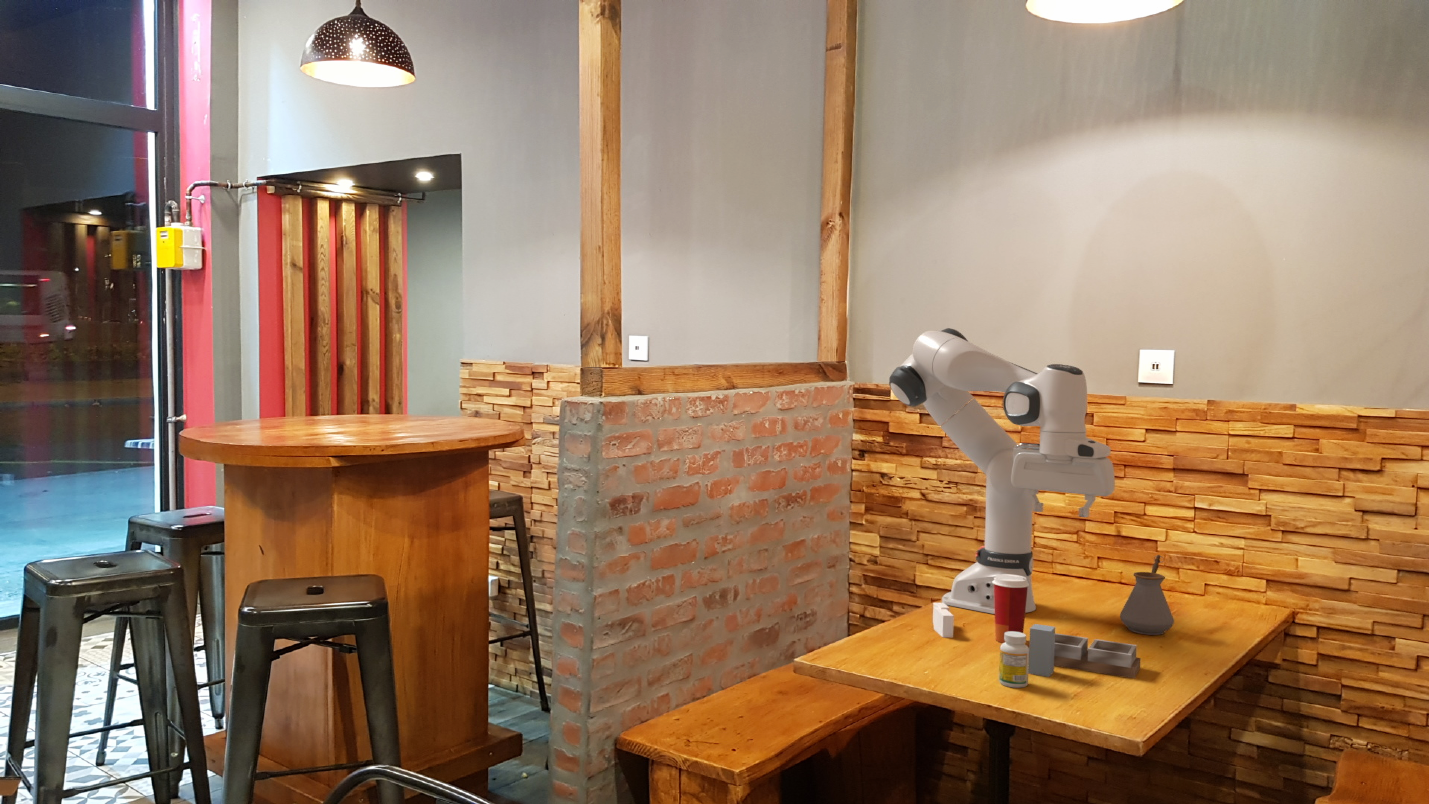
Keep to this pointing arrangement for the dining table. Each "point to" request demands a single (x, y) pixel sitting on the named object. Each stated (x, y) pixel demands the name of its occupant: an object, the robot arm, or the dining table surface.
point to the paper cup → (1009, 604)
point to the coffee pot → (1147, 604)
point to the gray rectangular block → (1041, 650)
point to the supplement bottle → (1014, 660)
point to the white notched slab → (942, 620)
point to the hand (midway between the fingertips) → (1060, 514)
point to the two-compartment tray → (1096, 656)
